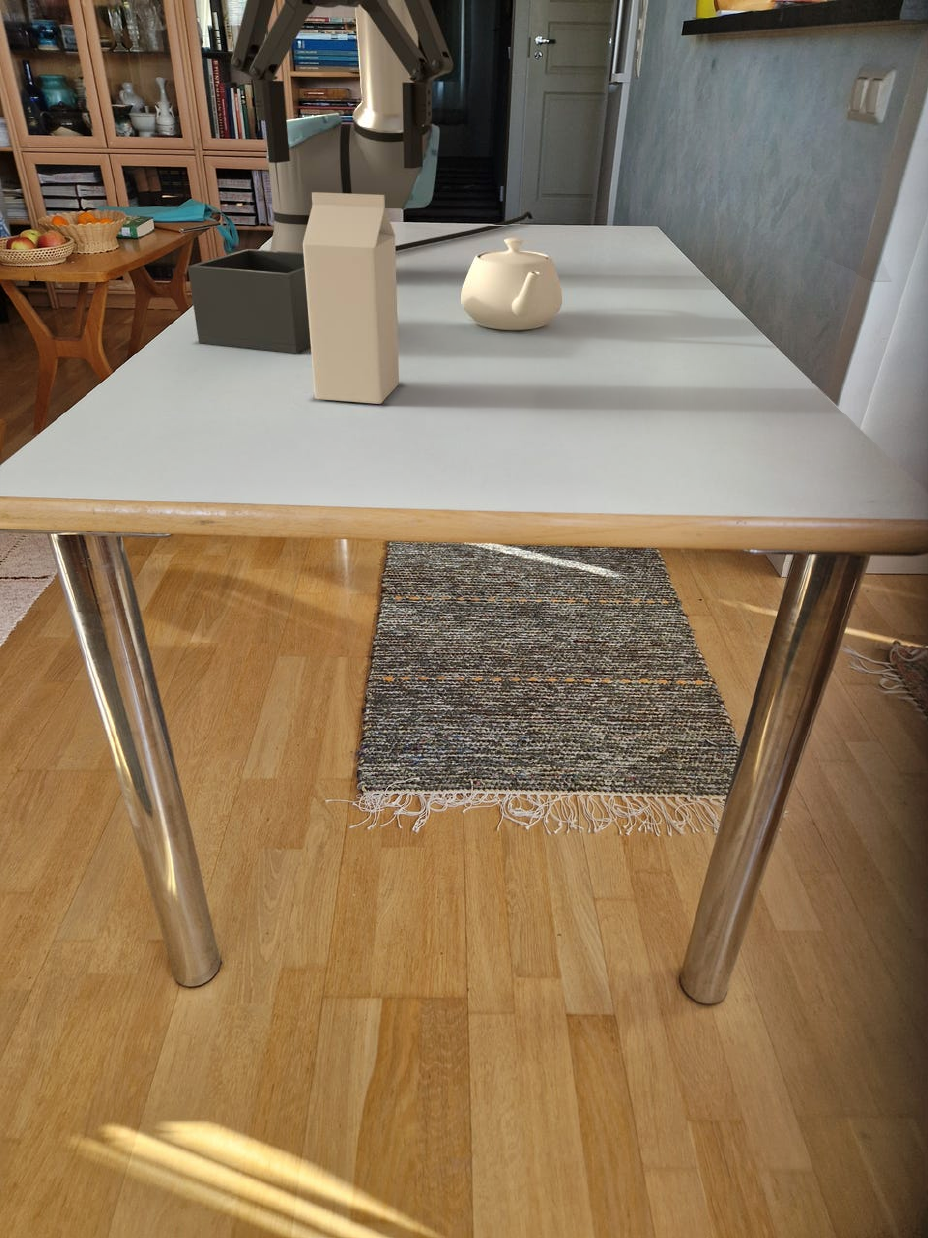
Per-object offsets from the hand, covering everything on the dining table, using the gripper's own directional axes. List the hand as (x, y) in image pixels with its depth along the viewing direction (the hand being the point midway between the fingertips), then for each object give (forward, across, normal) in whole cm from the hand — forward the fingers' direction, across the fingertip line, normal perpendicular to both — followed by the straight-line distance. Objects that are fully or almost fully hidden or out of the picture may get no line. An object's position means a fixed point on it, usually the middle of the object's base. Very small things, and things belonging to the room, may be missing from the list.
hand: (345, 164), depth 80 cm
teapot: (+21, +7, +35) cm, 42 cm away
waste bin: (+21, -20, +18) cm, 34 cm away
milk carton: (+22, 0, 0) cm, 22 cm away
